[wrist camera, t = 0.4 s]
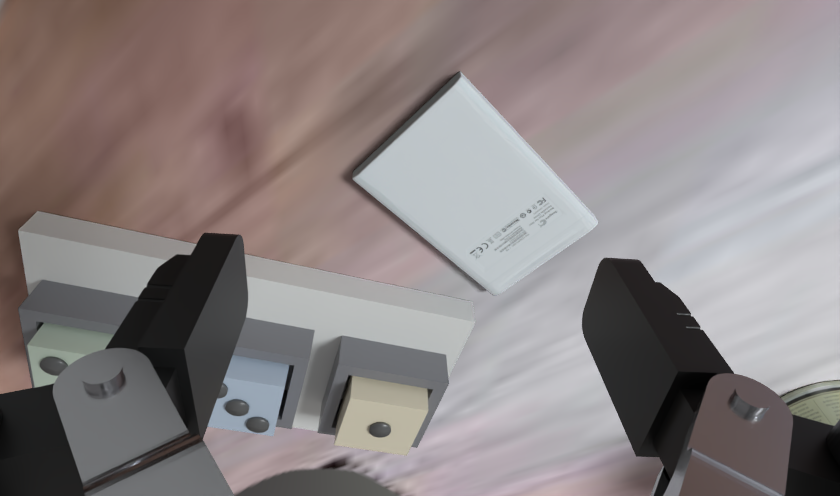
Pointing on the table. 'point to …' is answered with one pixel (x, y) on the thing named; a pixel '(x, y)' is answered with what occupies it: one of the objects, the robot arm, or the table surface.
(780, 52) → the table surface
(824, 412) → the coffee can
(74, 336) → the button two
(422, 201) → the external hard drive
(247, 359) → the button three
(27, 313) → the button panel
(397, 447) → the button one
